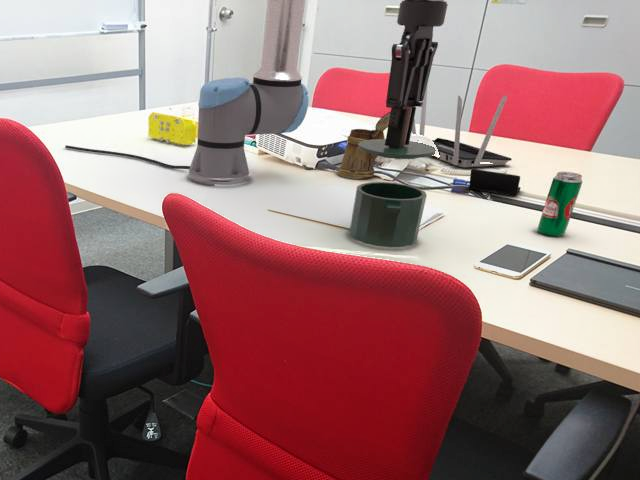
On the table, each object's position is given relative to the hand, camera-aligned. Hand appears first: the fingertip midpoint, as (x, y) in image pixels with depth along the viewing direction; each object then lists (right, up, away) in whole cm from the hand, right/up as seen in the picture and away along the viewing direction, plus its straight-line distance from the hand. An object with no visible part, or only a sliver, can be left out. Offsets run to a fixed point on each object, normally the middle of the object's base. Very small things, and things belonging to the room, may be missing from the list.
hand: (396, 144), depth 120 cm
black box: (+38, +2, +40) cm, 56 cm away
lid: (0, -1, 0) cm, 1 cm away
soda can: (+36, -14, +13) cm, 41 cm away
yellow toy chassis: (-40, +28, +84) cm, 97 cm away
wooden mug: (+9, +8, +50) cm, 52 cm away
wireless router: (+41, +19, +70) cm, 83 cm away
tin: (0, -16, +9) cm, 18 cm away
